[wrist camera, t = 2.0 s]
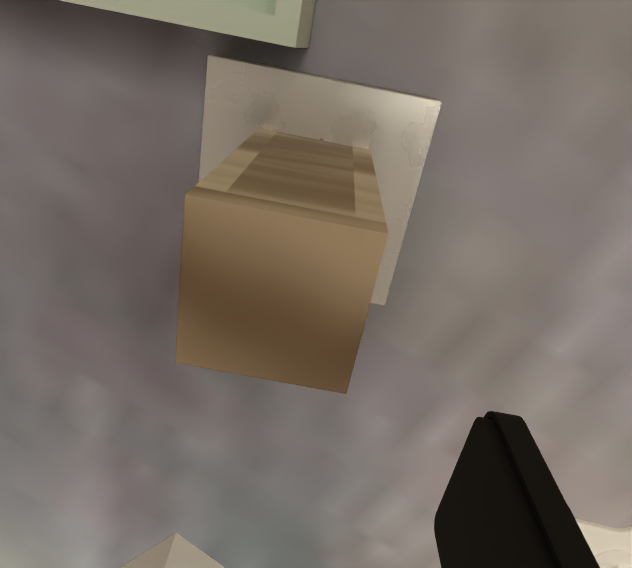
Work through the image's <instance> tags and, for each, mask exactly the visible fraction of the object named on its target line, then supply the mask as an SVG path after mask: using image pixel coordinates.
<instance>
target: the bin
mask: <svg viewBox="0 0 632 568" xmlns="http://www.w3.org/2000/svg"><path fill="white" fill-rule="evenodd" d="M61 1H66V2H70V3H75V4H80V5H85V6H90V7H95V8H100V9H105V10H110V11H115V12H120V13H125V14H130V15H135V16H140V17H145V18H150V19H155V20H160V21H165V22H170V23H175V24H180V25H185V26H189V27H194V28H199V29H204V30H209V31H214V32H219V33H224V34H229V35H234V36H239V37H244V38H249V39H254V40H259V41H264V42H269V43H274V44H279V45H284V46H289V47H294V48H309V43H310V37H311V31H312V24H313V18H314V11H315V5H316V0H61Z"/></svg>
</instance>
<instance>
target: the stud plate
mask: <svg viewBox="0 0 632 568" xmlns="http://www.w3.org/2000/svg"><path fill="white" fill-rule="evenodd" d="M441 103H442V102H441V101H439V100H437V99H435V98H430V97H425V96H420V95H415V94H410V93H405V92H400V91H395V90H390V89H385V88H380V87H375V86H370V85H365V84H360V83H355V82H350V81H345V80H340V79H335V78H330V77H325V76H320V75H315V74H310V73H305V72H300V71H295V70H290V69H285V68H280V67H275V66H270V65H265V64H260V63H255V62H250V61H245V60H240V59H235V58H230V57H225V56H220V55H208V60H207V74H206V87H205V101H204V115H203V129H202V143H201V157H200V170H199V182H200V181H201V180H202V179H203V178H204V177H205V176H207V175H208V174H209V173H210V172H211V171H212V170H213V169H214V168H215V167H217V166H218V165H219V164H220V163H221V162H222V161H223V160H224V159H225V158H227V157H228V156H229V155H230V154H231V153H232V152H233V151H234V150H235V149H237V148H238V147H239V146H240V145H241V144H242V143H243V142H244V141H245V140H247V139H248V138H249V137H250V136H251V135H252V134H253V133H254V132H256V131H257V130H258V129H259V128H262V129H267V130H272V131H277V132H282V133H287V134H292V135H297V136H302V137H307V138H312V139H317V140H322V141H328V142H333V143H338V144H343V145H348V146H353V147H358V148H363V149H368V150H370V151H371V156H372V160H373V165H374V169H375V174H376V179H377V183H378V188H379V192H380V197H381V202H382V206H383V211H384V215H385V220H386V224H387V229H388V238H387V242H386V245H385V249H384V253H383V257H382V261H381V264H380V268H379V272H378V276H377V279H376V283H375V287H374V291H373V295H372V298H371V302H370V303H374V304H379V305H385V303H386V299H387V296H388V292H389V288H390V285H391V281H392V278H393V274H394V271H395V267H396V263H397V260H398V256H399V253H400V249H401V246H402V242H403V238H404V235H405V231H406V228H407V224H408V221H409V217H410V213H411V210H412V206H413V203H414V199H415V196H416V192H417V188H418V185H419V181H420V178H421V174H422V171H423V167H424V163H425V160H426V156H427V153H428V149H429V146H430V142H431V138H432V135H433V131H434V128H435V124H436V121H437V117H438V113H439V110H440V106H441Z"/></svg>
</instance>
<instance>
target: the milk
mask: <svg viewBox="0 0 632 568" xmlns="http://www.w3.org/2000/svg"><path fill="white" fill-rule="evenodd" d="M121 568H225V567H223V566H222V565H220V564H219V563H218V562H216V561H215V560H213V559H212V558H211V557H209V556H208V555H206V554H205V553H204V552H202V551H201V550H199V549H198V548H197V547H195V546H194V545H192V544H191V543H190V542H188V541H187V540H185V539H184V538H183V537H181V536H180V535H178V534H177V533H175V534H173V535H172V536H170V537H169V538H167V539H165V540H164V541H162V542H161V543H159V544H157V545H156V546H154V547H153V548H151V549H149V550H148V551H146V552H145V553H143V554H142V555H140V556H138V557H137V558H135V559H134V560H132V561H130V562H129V563H127V564H126V565H124V566H123V567H121Z"/></svg>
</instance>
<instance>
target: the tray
mask: <svg viewBox="0 0 632 568" xmlns="http://www.w3.org/2000/svg"><path fill="white" fill-rule="evenodd" d="M575 520H576V522H577V524H578V526H579V527H580V529H581V531H582V533H583V535H584V537H585V539H586V541H587V543H588V545H589V547H590V549H591V551H592V553H593V555H594V557H595V559H596V561H597V563H598V565H599V567H600V568H632V526H630V527H627V528H623V529H617V528H612V527H608V526H604V525H600V524H596V523H592V522H588V521H583V520H579V519H575Z"/></svg>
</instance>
